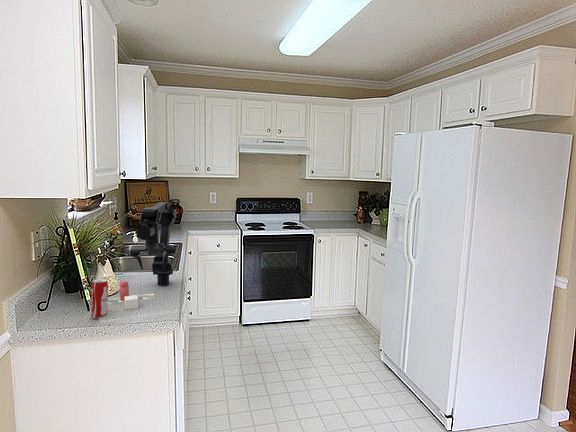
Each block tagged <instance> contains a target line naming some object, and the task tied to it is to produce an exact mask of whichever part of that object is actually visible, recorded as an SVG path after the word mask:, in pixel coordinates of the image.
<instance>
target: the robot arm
mask: <svg viewBox="0 0 576 432" xmlns="http://www.w3.org/2000/svg"><path fill="white" fill-rule="evenodd" d="M176 219H177V211H176V209H175V208H174V207H173V206H171V204H170V202H168V201H159V202H157V203H156V204H155V205H153V206H152V207H144V208H143V209H142V210H141V212H140V218H139V222H138V224H139V225H140V226H141V227H139V228H138V229H137V232H136V236H137V238H138V239H140V240H142V241H144V245H145V247H144V248H141V249H140V247H130V248H129V256H130V257H133V258H134V259H136V261H137V262H138V264H139V267H140V269H141V271H143V269H144V268H143V263H142V256H141V254H147V255H148V256H154V255H155V256H154V257H153V263H151V268H152V275H154V276H155V275H156V277H157V278H156V279H157V282H156V283H157V285H158V286H160V287H168V286H169V285H170V276H171V275H173V274H174V267H173V265H172V263H171V258H170V257H169V256H171V255H172V254H175V247H174V246H173V245H172V244H170V238H171V229H172V227H173V225H174V224H175V222H176V221H175V220H176ZM159 224H160V226H161V227H160V233H159ZM159 234H160V235H159Z"/></svg>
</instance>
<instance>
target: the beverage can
mask: <svg viewBox="0 0 576 432" xmlns="http://www.w3.org/2000/svg"><path fill="white" fill-rule="evenodd" d="M108 285H109V283H108V280H107V279H106V278H96V279H93V280H92V283H91V298H90V299H91V302H90V306H91V307H90V317H91V319H95V320H99V318H101V317H104V316H106V315H108V304H107V299H109V298H108V295H109V294H108V292H109V291H108V290H109V286H108Z"/></svg>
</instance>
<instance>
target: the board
mask: <svg viewBox="0 0 576 432" xmlns="http://www.w3.org/2000/svg"><path fill="white" fill-rule="evenodd" d="M136 295H137V294H136ZM137 297H138V301H140V300H141V301H142V300H149V299H155V298H156V297H155V294H154V293H147V294H140V295H139V294H138V295H137ZM117 303H125V301H121V300H120V297H115V298H114V297H113V298H107V305H110V304H117Z"/></svg>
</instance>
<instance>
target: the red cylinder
mask: <svg viewBox="0 0 576 432" xmlns="http://www.w3.org/2000/svg"><path fill="white" fill-rule="evenodd" d="M129 288H130V287H129V282H128V281H126V280H122V281H121V282H120V284H119V298H120V300H121V301H124V297H125V296H130V290H129Z"/></svg>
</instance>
